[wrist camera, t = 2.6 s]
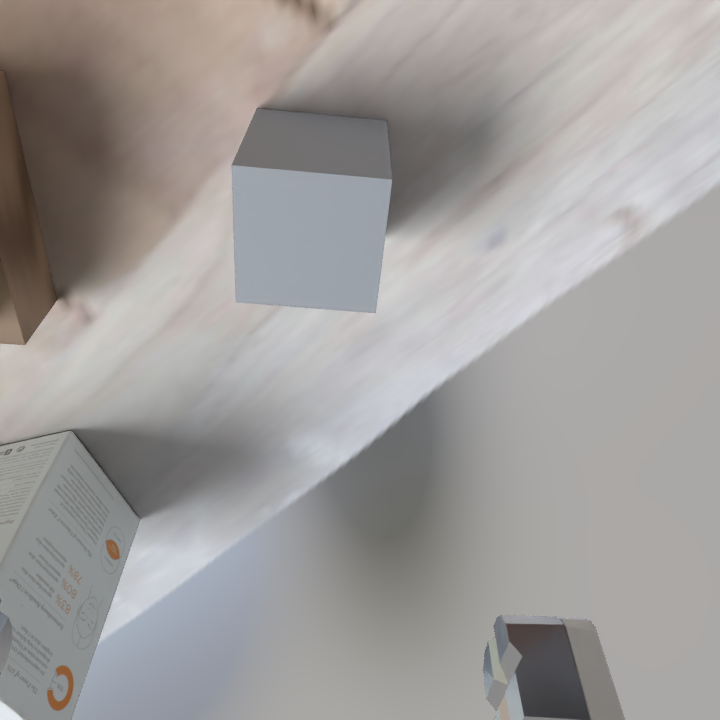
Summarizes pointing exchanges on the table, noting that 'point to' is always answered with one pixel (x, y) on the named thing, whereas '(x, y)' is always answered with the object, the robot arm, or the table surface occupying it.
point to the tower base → (19, 239)
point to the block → (311, 210)
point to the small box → (56, 570)
